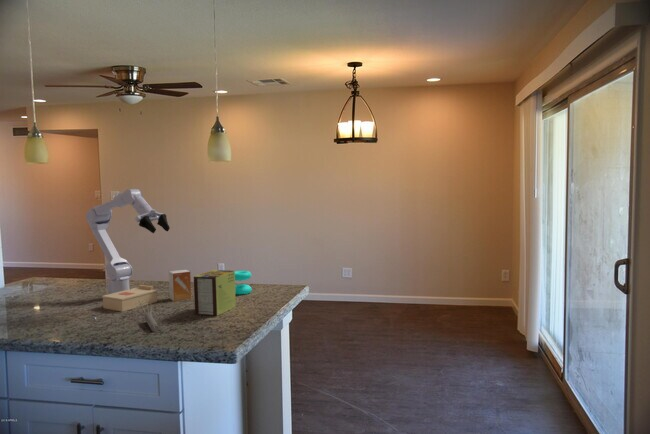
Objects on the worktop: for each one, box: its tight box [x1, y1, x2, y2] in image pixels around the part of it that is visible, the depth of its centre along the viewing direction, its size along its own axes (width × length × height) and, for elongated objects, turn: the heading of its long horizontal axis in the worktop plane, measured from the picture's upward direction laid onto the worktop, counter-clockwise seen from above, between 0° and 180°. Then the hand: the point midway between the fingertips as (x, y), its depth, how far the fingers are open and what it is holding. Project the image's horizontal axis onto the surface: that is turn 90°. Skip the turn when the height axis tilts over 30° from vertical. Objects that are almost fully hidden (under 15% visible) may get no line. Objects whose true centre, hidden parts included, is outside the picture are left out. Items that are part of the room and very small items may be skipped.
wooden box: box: [102, 291, 158, 312], centre depth 217 cm, size 12×18×5 cm, turn 150°
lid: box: [101, 284, 158, 300], centre depth 217 cm, size 12×18×2 cm
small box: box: [168, 269, 192, 302], centre depth 227 cm, size 8×6×13 cm
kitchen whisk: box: [134, 299, 159, 333], centre depth 193 cm, size 6×34×6 cm, turn 29°
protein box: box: [193, 269, 237, 317], centre depth 208 cm, size 10×15×16 cm
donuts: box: [234, 270, 253, 296], centre depth 239 cm, size 10×10×10 cm
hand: (161, 230), depth 216 cm, fingers open, 7 cm apart
